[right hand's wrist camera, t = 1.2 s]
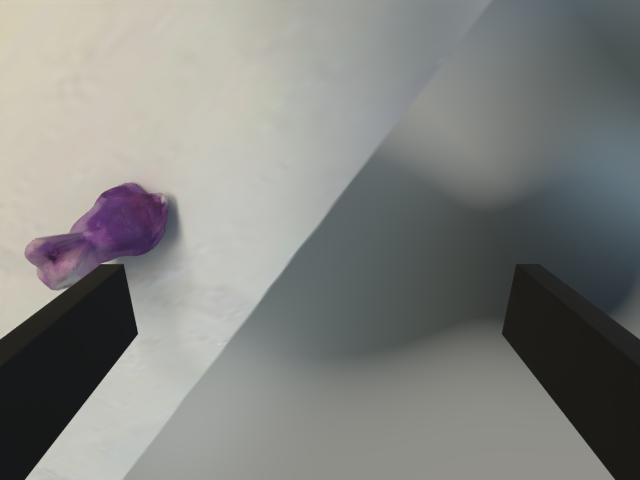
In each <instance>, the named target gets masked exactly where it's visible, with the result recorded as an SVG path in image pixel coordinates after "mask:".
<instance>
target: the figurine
mask: <svg viewBox="0 0 640 480" xmlns="http://www.w3.org/2000/svg"><path fill="white" fill-rule="evenodd" d="M167 212H168V200H167V198H166V196H165V195H164V194H162V193H156V194H149V193H147V192H145V191H143V190H142V189H141V188H140V187H139V186H138V185H136V184H135V183H125V184H122V185H120V186H118V187H114V188H112V189H109V190H107V191H105V192H104V193H102V194H101V195H100V197H99V198H98V199H97V201H96V202H95V204H94V206H93V207H92V209H91V210H90V211H88V212H87V213H86V214H85V215H84V216H82V217H81V218H80V219H79V220H78V221H77V222H76V223H75V224H74V225H73V226H72V228H71V230H70V233H69V234H62V235H55V236H48V237H41V238H36V239H35V240H32V242H30V243H29V244H28V245H27V246H26V248H25V257H26V258H27V260H28V261H30V262H31V263H32V264H33V265H35V266H37V271H36V272H37V276H38V278H39V279H40V280H41V281H42V282H43V283H44V284H45V285H46V286H47V287H49V288H50V289H51V290H61V289H65V288H69V287H71V286H72V285H74V284H75V283H76V282H78V281H79V280H80V279H82V278H83V277H84V276H86V275H87V274H88V273H90V272H91V271H92V270H94V269H95V268H96V267H98V266H99V265H100V264H101V263H104V262H108V261H111V260H113V259H115V258H117V257H121V256H130V255H131V256H137V255H141V254H144V253H147V252H148V251H150V250H151V249H153V248H154V247H155V246H156V245H157V244H158V242H159V241H160V240H161V238H162V237H163V235H164V226H165V223H166V219H167Z"/></svg>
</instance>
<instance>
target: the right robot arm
mask: <svg viewBox="0 0 640 480" xmlns="http://www.w3.org/2000/svg"><path fill="white" fill-rule="evenodd" d="M137 335H138V331H137V326H136V321H135V316H134V312H133V307H132V302H131V297H130V292H129V288H128V283H127V278H126V273H125V268H124V264H100V265H99V266H98V267H96V268H95V269H94V270H92V271H91V272H90V273H88V274H87V275H86V276H84V277H83V278H82V279H80V280H79V281H78V282H76V283H75V284H74V285H72V286H71V287H70V288H68V289H67V290H66V291H64V292H63V293H62V294H60V295H59V296H58V297H56V298H55V299H54V300H52V301H51V302H50V303H48V304H47V305H46V306H44V307H43V308H42V309H40V310H39V311H38V312H36V313H35V314H34V315H32V316H31V317H30V318H28V319H27V320H26V321H24V322H23V323H22V324H20V325H19V326H18V327H16V328H15V329H14V330H12V331H11V332H10V333H8V334H7V335H6V336H4V337H3V338H2V339H0V480H25V479H26V477H27V476H28V475H29V474H30V472H31V471H32V470H33V468H34V467H35V466H36V465H37V463H38V462H39V461H40V459H41V458H42V457H43V456H44V454H45V453H46V452H47V450H48V449H49V448H50V447H51V445H52V444H53V443H54V441H55V440H56V439H57V438H58V436H59V435H60V434H61V432H62V431H63V430H64V429H65V427H66V426H67V425H68V423H69V422H70V421H71V420H72V418H73V417H74V416H75V414H76V413H77V412H78V411H79V409H80V408H81V407H82V405H83V404H84V403H85V402H86V400H87V399H88V398H89V396H90V395H91V394H92V393H93V391H94V390H95V389H96V387H97V386H98V385H99V384H100V382H101V381H102V380H103V378H104V377H105V376H106V375H107V373H108V372H109V371H110V369H111V368H112V367H113V366H114V364H115V363H116V362H117V360H118V359H119V358H120V357H121V355H122V354H123V353H124V351H125V350H126V349H127V348H128V346H129V345H130V344H131V342H132V341H133V340H134V339H135V337H136V336H137ZM502 335H503V336H504V337H505V338H506V340H507V341H508V342H509V344H510V345H511V346H512V348H513V349H514V350H515V351H516V353H517V354H518V355H519V356H520V358H521V359H522V360H523V362H524V363H525V364H526V366H527V367H528V368H529V369H530V371H531V372H532V373H533V375H534V376H535V377H536V378H537V380H538V381H539V382H540V384H541V385H542V386H543V387H544V389H545V390H546V391H547V393H548V394H549V395H550V396H551V398H552V399H553V400H554V402H555V403H556V404H557V405H558V407H559V408H560V409H561V411H562V412H563V413H564V414H565V416H566V417H567V418H568V419H569V421H570V422H571V423H572V425H573V426H574V427H575V429H576V430H577V431H578V432H579V434H580V435H581V436H582V438H583V439H584V440H585V441H586V443H587V444H588V445H589V447H590V448H591V449H592V450H593V452H594V453H595V454H596V456H597V457H598V458H599V459H600V461H601V462H602V463H603V465H604V466H605V467H606V468H607V470H608V471H609V472H610V474H611V475H612V476H613V477H614V479H615V480H640V339H638V338H637V337H636V336H634V335H633V334H632V333H630V332H629V331H628V330H626V329H625V328H624V327H622V326H621V325H620V324H618V323H617V322H616V321H614V320H613V319H612V318H610V317H609V316H608V315H606V314H605V313H604V312H602V311H601V310H600V309H598V308H597V307H596V306H594V305H593V304H592V303H590V302H589V301H588V300H586V299H585V298H584V297H582V296H581V295H580V294H578V293H577V292H576V291H574V290H573V289H572V288H570V287H569V286H568V285H566V284H565V283H564V282H562V281H561V280H560V279H558V278H557V277H556V276H554V275H553V274H552V273H550V272H549V271H548V270H546V269H545V268H544V267H542V266H541V265H540V264H516V268H515V273H514V278H513V283H512V288H511V293H510V297H509V302H508V307H507V312H506V316H505V321H504V326H503V331H502Z"/></svg>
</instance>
